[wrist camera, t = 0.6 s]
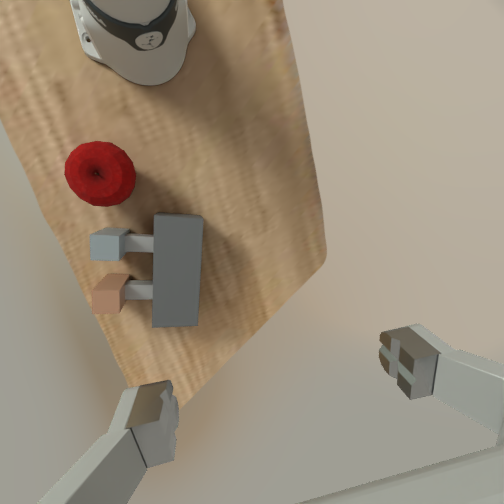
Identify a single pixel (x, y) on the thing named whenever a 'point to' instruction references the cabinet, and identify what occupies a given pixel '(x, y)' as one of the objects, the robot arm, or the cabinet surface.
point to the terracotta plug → (119, 293)
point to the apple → (100, 173)
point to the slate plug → (118, 243)
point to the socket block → (176, 269)
